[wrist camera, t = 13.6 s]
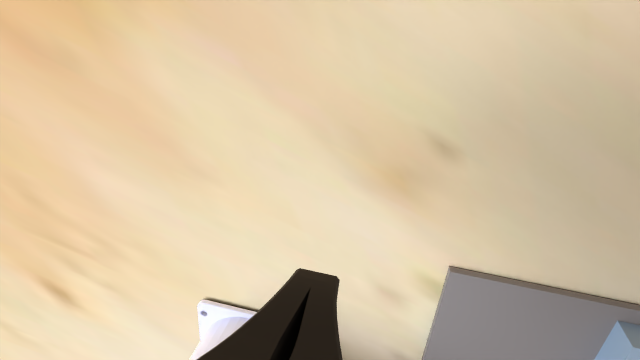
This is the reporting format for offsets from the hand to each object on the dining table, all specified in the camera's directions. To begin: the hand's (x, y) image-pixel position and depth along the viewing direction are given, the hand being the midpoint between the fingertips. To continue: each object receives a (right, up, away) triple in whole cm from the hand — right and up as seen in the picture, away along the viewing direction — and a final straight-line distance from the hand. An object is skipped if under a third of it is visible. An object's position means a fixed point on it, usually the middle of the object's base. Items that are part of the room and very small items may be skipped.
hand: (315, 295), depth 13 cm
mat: (+14, -7, +11) cm, 20 cm away
